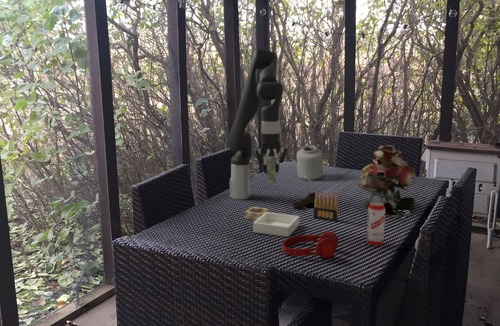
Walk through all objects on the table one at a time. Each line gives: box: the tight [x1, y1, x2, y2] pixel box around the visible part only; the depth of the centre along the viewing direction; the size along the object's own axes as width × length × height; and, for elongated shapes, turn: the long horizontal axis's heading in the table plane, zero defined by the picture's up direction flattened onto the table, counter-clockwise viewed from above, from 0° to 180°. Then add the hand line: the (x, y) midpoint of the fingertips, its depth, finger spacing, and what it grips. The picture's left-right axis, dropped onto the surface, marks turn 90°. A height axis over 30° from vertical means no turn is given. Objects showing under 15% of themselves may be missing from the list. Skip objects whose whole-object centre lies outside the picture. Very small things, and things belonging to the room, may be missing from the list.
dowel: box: [265, 156, 277, 184], centre depth 205 cm, size 4×4×10 cm
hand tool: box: [293, 191, 316, 211], centre depth 237 cm, size 19×4×5 cm, turn 144°
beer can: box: [365, 201, 386, 247], centre depth 187 cm, size 6×6×16 cm
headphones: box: [281, 230, 340, 259], centre depth 181 cm, size 15×7×20 cm
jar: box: [296, 137, 324, 181], centre depth 284 cm, size 19×15×25 cm
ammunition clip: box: [313, 191, 339, 223], centre depth 215 cm, size 11×2×12 cm, turn 63°
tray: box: [252, 211, 301, 238], centre depth 204 cm, size 15×15×4 cm
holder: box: [243, 206, 270, 221], centre depth 219 cm, size 8×8×3 cm
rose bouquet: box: [357, 144, 416, 219], centre depth 229 cm, size 26×29×30 cm
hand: (271, 172), depth 205 cm, fingers closed on dowel, 4 cm apart
